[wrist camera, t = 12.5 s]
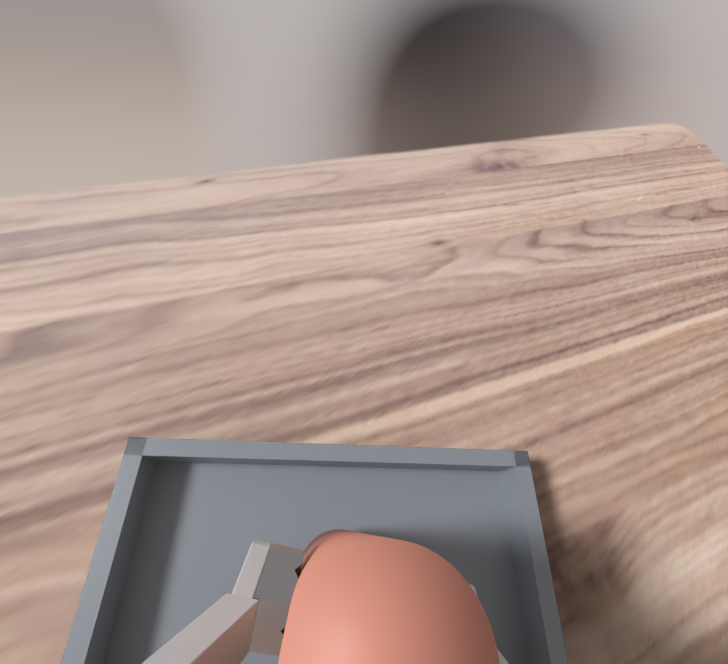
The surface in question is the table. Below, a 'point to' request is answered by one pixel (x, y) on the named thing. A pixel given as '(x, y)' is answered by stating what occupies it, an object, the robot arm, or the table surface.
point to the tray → (307, 533)
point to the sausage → (383, 606)
